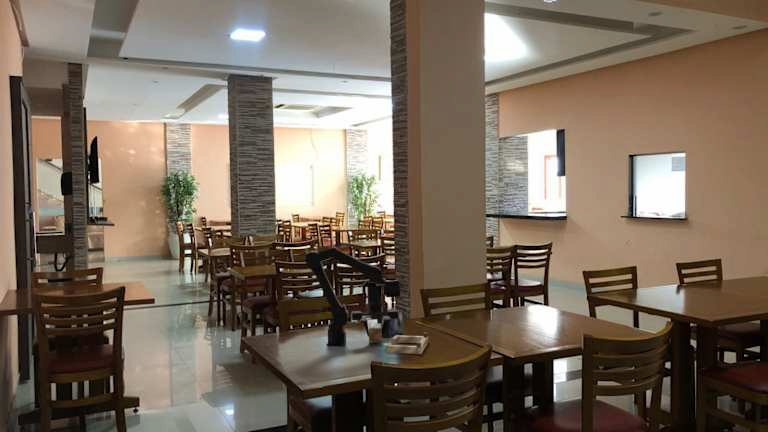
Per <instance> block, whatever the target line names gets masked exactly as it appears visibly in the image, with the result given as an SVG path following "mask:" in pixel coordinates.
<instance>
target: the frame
mask: <svg viewBox="0 0 768 432" xmlns="http://www.w3.org/2000/svg"><path fill="white" fill-rule="evenodd" d="M368 330H369V337H368V342H369V343H382V342H383V337H382V328H381V323H377V322H376V323H368Z"/></svg>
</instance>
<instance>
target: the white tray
mask: <svg viewBox="0 0 768 432" xmlns="http://www.w3.org/2000/svg"><path fill="white" fill-rule="evenodd" d="M428 333H429V332H426V331H425V332H423V335H395V336H393V337H392V338H391V340H389V342H387V344H386V346H385V353H386V354H390V353H392V354H395V353H396V354H414V355H423V352H424V350H425V349H426V348H427V346H428V344H429V336H428ZM400 343H403V344H405V343H406V344H407V343H408V344H416V345H401V344H400ZM398 344H400V345H398Z"/></svg>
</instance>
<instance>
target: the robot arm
mask: <svg viewBox="0 0 768 432" xmlns="http://www.w3.org/2000/svg"><path fill="white" fill-rule="evenodd" d="M332 258H333V259H335V260H337V261H339V262H341V263H343V264H344V265H346V266H348V267H349V268H350V267H351V268H353V269H354V270H355V271H357V272H359V273H360V274H362V276H364V277H365V278H366V279H368V280H369V281H370V282H369V281H368V280H365V282H364V283H363V284H362V287H363V288H366V290H367V293H366V294H367V295H366V296H367V312H362V311H361V310H354V311H353V310H352V311H351V313H350V314H349V312H350V311H348V309H347V307H346V303H343V304H341V302H340V301H339V300H338V297H337V295H336V293H335V291H334V289H333V286H332V285H331V282H330V281H329V278H328V277H327V274H326V272H325V268H324V265H323V261H326V260H329V259H332ZM304 259H305V260H304V261H305V264H306V265H307V267H308V268H309V269H310V270H311V271H312V273H313V274H314V276H315V278H316V279H317V282H318V283H319V286H320V288H321V291H322V292H323V294H324V297H325V299H326V300H327V303H328V305H329V307H330V311H331V316H332V318H331V320H330V321H329V323H328V325H327V326H328V329H327V343H326V346H338V347H343V346H344V345H345V344H346V343H347V332H346V330H345V328H346V327H344V326H346V325H347V323H348V322H349V315H350V318H351V321H359V322H360V323H362V324H363V326H364V327H363V328H364V329H365V333H366V336H367V337H368V338H369V323H368V318H370V319H371V320H373V321H374V320H377V319H382V327H381V328H382V336H383V333H384V330H385V327H386V325H387V323H388V321H391V319H398V318H399V313H398V312H397V310H398V309H397V310H388V309H389V308H388V305H384V306H383V303H382V302H383V301H382V299H383V298H382V296H385V298H400V297H401V288H400V280H399V279H395V280H386V279H385V277H384V276H383V275H382V271H381V268H380V267H379V266H376V265H374V264H370V263H367V262H363V261H361V260H359V259H358V258H356V257H353V256H351V255H350V254H348V253H346V252H344V251H342V250H340V249H339V248H337V247H336V246H331V247H329V248H325V249H322V250H319V251H316V250H310V251H309V252H308V253H307V254H306V255H305V257H304ZM377 283H378V284H377ZM390 318H391V319H390Z"/></svg>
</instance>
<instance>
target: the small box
mask: <svg viewBox="0 0 768 432" xmlns="http://www.w3.org/2000/svg"><path fill="white" fill-rule="evenodd" d="M388 310H397V312H398V313H399V318H398V319H391V318H390V319H391V321H388V323H387V325H386V327H385V330H384V333H383V336H382V338H386V339H390V338H393V337H394V336H395V335H399V336H401V335H403V309H396V308H388ZM376 323H381V327H382V319H376Z"/></svg>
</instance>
